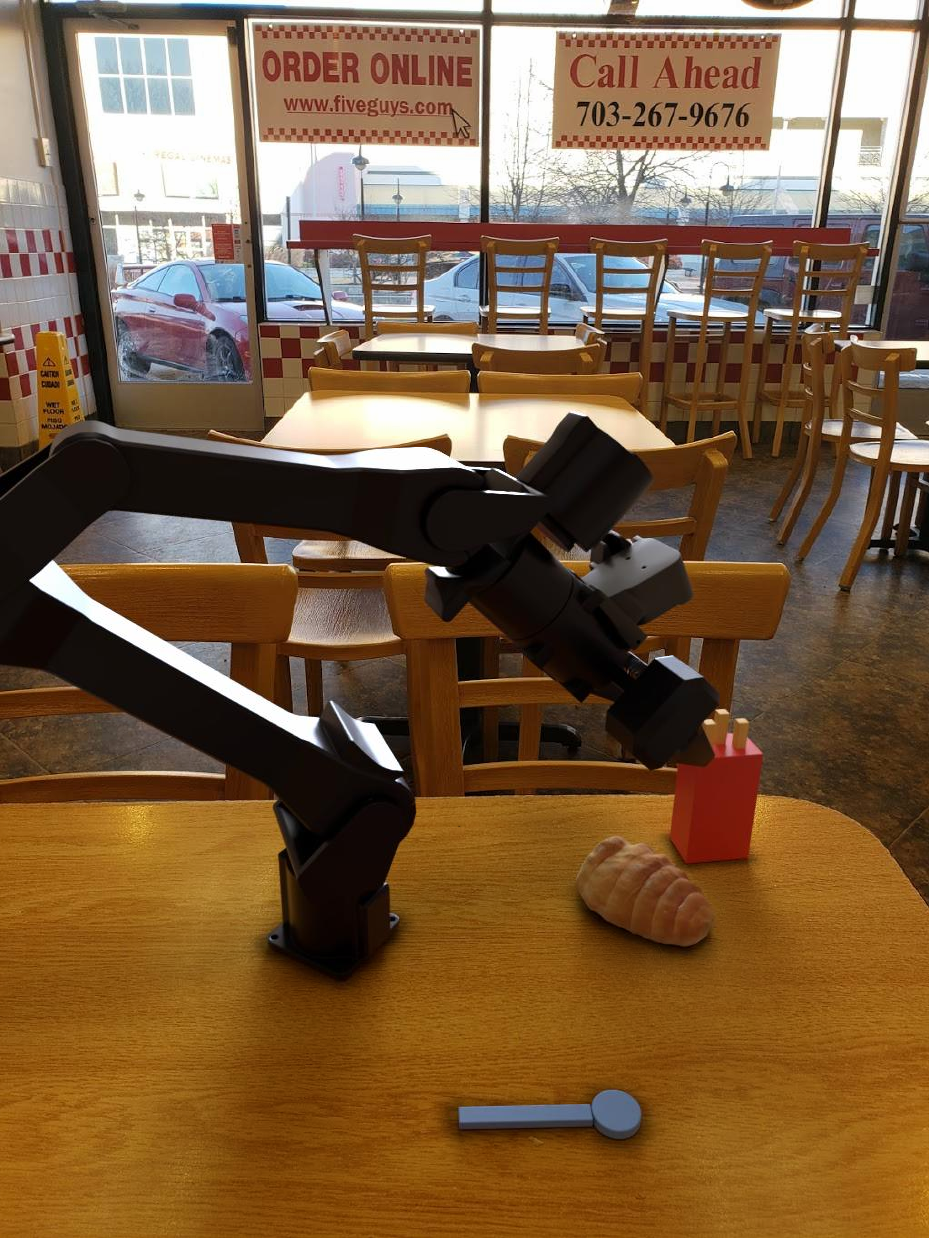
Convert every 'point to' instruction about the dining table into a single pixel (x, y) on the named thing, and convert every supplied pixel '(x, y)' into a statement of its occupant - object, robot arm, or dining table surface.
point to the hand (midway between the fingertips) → (671, 729)
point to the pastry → (643, 893)
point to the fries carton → (718, 796)
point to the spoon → (561, 1115)
